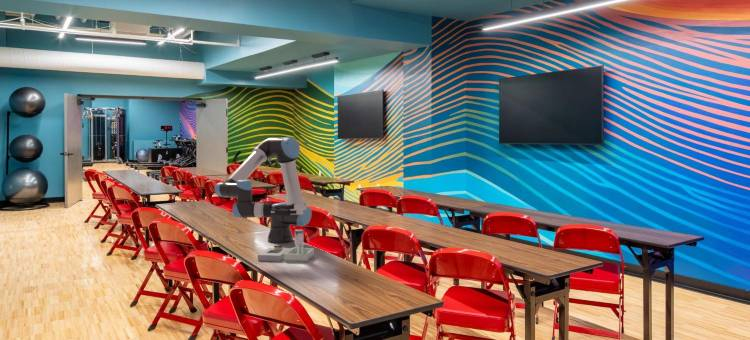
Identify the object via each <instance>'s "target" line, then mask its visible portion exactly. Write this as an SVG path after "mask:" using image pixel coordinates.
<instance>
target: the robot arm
mask: <svg viewBox="0 0 750 340" xmlns="http://www.w3.org/2000/svg"><path fill="white" fill-rule="evenodd" d="M300 150H301V149H300V145H299V142H298V141H297V140H296V139H295V138H294V137H289V136H288V137H287V136H286V137H282V136H281V137H273V136H272V137H268V138H267V139H264V140H263V141H261V142H260V143H258V144H257V145H256V146H255V147H254V148H253V150H252V152H251V154H250V155H249V156H248V157H247V158H246V159H245V160H244V161H243V162H242V163H241V164H240V165H239V166H238V167H237V168H236V170H235V171H233V172H232V173H231V174H230V175H229V176H228V177H227V179H225V181H224V182H223V181H222V182H218V183H216V185H215V186H214V193H215V194H216V195H217V197H222V198H236V202H234V204H233V205H232V215H233V217H234V218H242V219H243V218H257V219H260V218H269V220H270V221H269V223H270V228H269V232H268V236H267V241H268V243H273V244H284V243H290V242H293V241H294V236H293V233H292V229H291V227H290V226H298V227H305V226H307V225H308V224H309V223H310V221H311V219H312V215H313V214H312V213H313V211H312V209H311V207H309V206H307V202H306V201H305V200H303V196H302V190H301V185H300V180H299V175H298V170H297V165H296V161H297V160H298V157H299V156H300ZM271 158H274V159H275V158H276V163H277V164H279V165H280V170H281V175H282V179H283V185H284V189H285V194H286V195H285V196H286V199H287V202H286V201H285V202H279V203H273V204H272V202H253V185H252V181H251V180H250V179H248V178H250V176H251V175H252V174H253V173H254V171H256V170H257V168H258V167H259V166H260V165H261V164H262V163H264V162H265V163H266V161H267V160H269V159H271Z"/></svg>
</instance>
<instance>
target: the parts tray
mask: <svg viewBox="0 0 750 340" xmlns="http://www.w3.org/2000/svg"><path fill="white" fill-rule="evenodd" d="M303 249H304V254H295V247H291V248H290V250H288V251H287V252H286V253H284V259H283V262H284V263H285V262H286V263H308V262H309V261H310V260H311V259H312V258H314V257H315V248H314V247H303Z"/></svg>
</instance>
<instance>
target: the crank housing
mask: <svg viewBox="0 0 750 340" xmlns="http://www.w3.org/2000/svg"><path fill="white" fill-rule="evenodd" d="M290 249H291V248H290V247H289V248H288V247H283V245H273V247H268V248H267V249H264V251H262V252H260V253H258V254H257V261H261V262H282V261H284V253H286V252H287V251H288V250H290Z"/></svg>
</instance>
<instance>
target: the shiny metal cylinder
mask: <svg viewBox="0 0 750 340" xmlns="http://www.w3.org/2000/svg"><path fill="white" fill-rule="evenodd" d="M294 248H295V254H304V249H303V248H304V229H303V228H302V229H301V228H299V229H294Z"/></svg>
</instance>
